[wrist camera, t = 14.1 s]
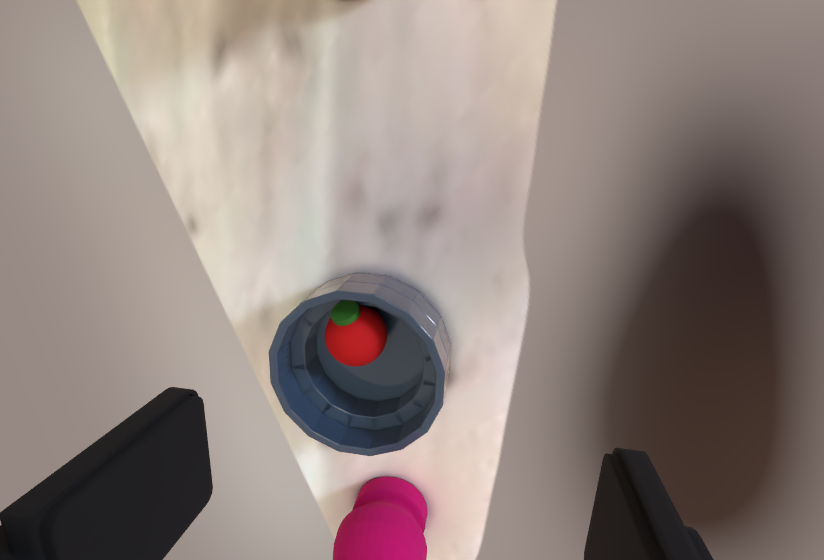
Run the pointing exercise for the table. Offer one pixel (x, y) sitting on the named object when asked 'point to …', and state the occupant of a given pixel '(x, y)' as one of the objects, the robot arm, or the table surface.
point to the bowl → (363, 369)
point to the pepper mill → (384, 523)
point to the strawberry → (355, 333)
